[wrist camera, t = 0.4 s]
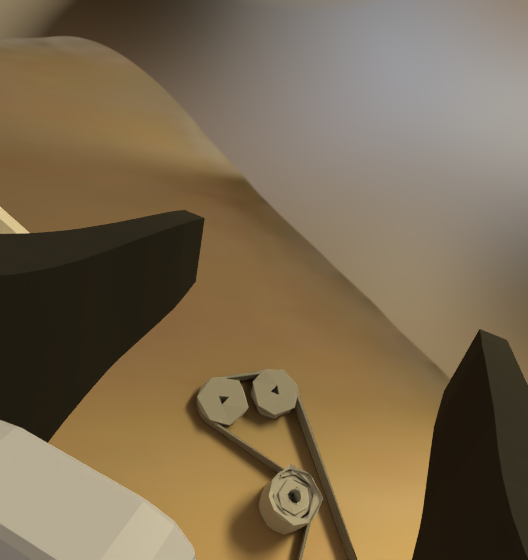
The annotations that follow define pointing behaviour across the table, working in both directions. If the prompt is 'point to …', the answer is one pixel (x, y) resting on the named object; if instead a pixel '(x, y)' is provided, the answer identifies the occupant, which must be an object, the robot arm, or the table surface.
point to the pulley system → (288, 482)
